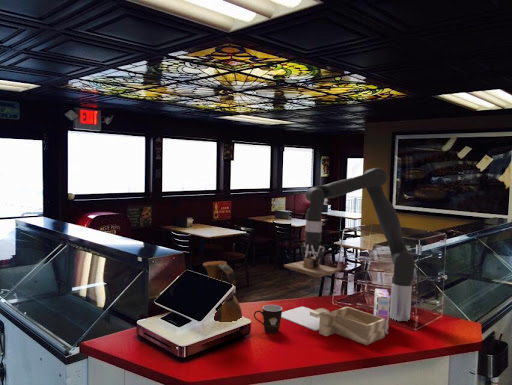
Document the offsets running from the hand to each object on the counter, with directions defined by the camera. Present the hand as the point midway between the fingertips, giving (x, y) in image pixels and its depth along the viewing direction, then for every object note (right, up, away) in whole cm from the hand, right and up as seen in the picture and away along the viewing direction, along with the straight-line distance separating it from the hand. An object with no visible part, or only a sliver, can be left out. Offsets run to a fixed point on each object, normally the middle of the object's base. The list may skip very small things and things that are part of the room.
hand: (311, 266), depth 204 cm
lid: (0, -3, 0) cm, 3 cm away
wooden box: (+15, -27, -17) cm, 35 cm away
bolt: (+1, -17, -21) cm, 27 cm away
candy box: (+30, -27, -7) cm, 41 cm away
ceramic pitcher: (-42, -25, -19) cm, 52 cm away
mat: (-1, -25, +2) cm, 25 cm away
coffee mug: (-21, -25, -15) cm, 36 cm away
